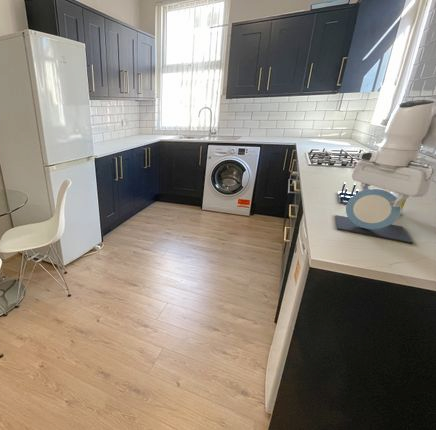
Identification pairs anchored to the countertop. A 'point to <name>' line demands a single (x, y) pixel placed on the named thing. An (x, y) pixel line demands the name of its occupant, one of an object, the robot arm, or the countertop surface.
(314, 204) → the countertop surface
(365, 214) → the plate
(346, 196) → the dish rack
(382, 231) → the mat
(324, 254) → the countertop surface
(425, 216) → the countertop surface
